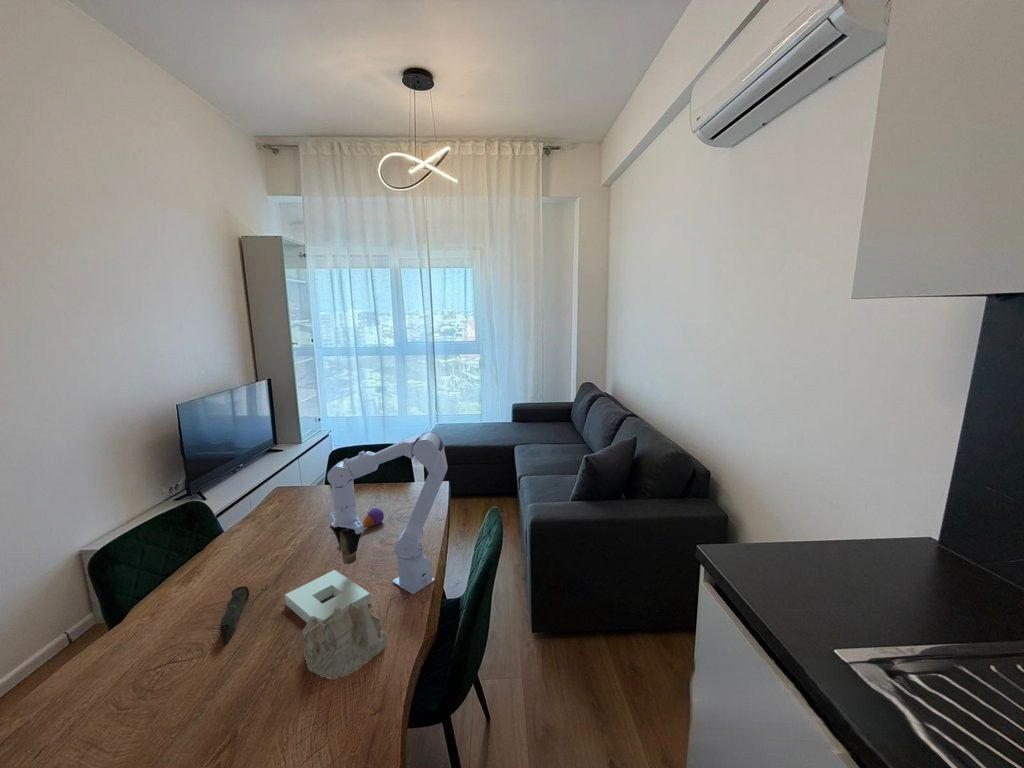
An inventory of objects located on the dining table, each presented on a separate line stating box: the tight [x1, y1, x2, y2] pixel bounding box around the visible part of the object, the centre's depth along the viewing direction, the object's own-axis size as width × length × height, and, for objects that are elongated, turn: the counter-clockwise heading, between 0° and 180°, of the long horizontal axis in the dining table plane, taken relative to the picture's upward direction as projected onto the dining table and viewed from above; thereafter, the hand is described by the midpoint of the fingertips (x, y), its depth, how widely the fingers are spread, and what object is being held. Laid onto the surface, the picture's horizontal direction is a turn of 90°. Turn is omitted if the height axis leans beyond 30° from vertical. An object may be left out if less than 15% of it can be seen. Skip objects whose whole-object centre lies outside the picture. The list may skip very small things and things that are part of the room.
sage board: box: [284, 569, 372, 624], centre depth 114 cm, size 18×14×3 cm
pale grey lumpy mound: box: [301, 601, 387, 678], centre depth 97 cm, size 16×16×15 cm
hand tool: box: [219, 586, 250, 646], centre depth 108 cm, size 19×4×5 cm, turn 19°
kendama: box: [361, 507, 385, 529], centre depth 152 cm, size 6×6×20 cm
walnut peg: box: [340, 528, 357, 565], centre depth 121 cm, size 4×4×9 cm
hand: (348, 549), depth 121 cm, fingers closed on walnut peg, 4 cm apart
